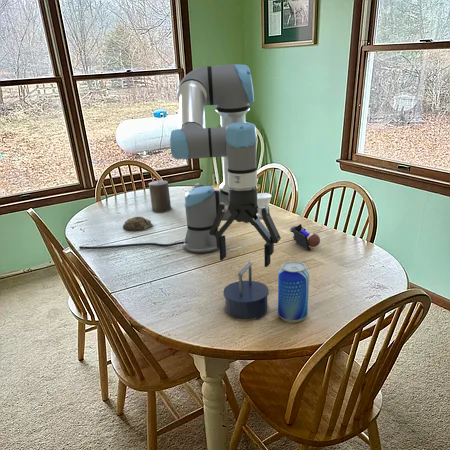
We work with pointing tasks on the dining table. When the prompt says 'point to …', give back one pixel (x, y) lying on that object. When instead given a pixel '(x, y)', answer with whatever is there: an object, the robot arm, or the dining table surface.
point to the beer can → (293, 291)
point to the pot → (246, 309)
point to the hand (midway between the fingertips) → (244, 261)
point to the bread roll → (137, 224)
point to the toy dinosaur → (198, 185)
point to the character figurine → (305, 237)
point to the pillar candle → (160, 196)
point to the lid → (245, 289)
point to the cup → (263, 201)
